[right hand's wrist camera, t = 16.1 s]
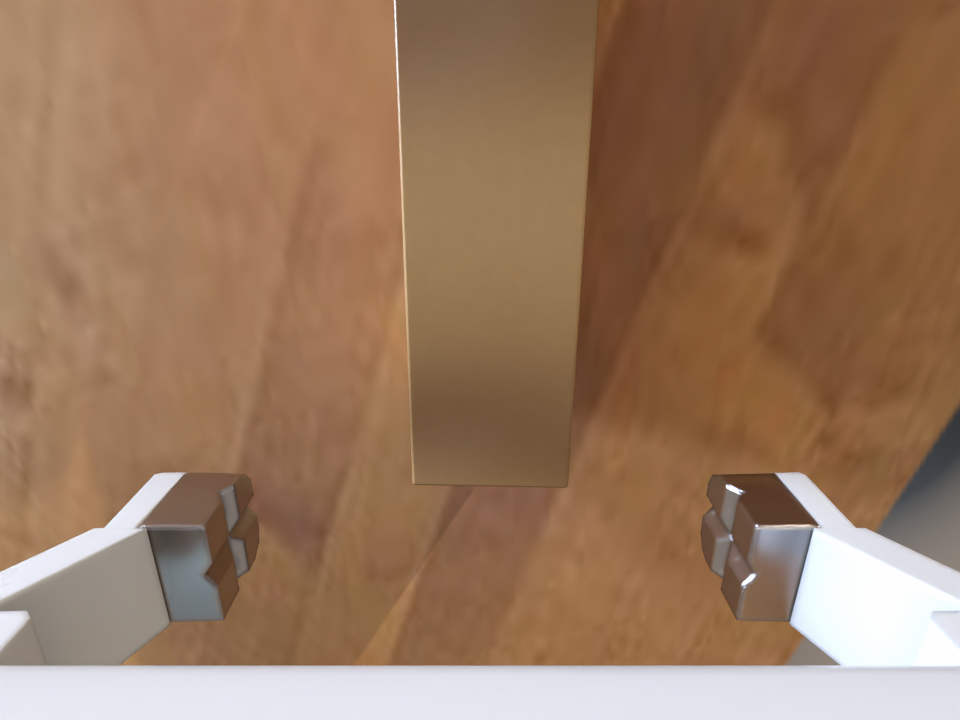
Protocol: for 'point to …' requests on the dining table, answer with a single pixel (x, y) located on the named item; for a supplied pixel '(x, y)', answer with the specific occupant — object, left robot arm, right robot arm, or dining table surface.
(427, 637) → the dining table surface
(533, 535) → the dining table surface
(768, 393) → the dining table surface
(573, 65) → the bar
